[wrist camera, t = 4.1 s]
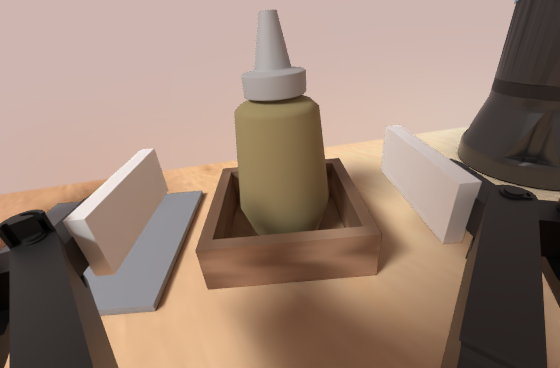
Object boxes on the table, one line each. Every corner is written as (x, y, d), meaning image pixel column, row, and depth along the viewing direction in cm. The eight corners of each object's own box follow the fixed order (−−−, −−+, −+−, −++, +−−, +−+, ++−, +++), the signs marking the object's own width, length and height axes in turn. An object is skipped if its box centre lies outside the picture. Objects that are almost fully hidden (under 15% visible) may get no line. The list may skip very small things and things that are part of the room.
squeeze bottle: (252, 206, 30) (222, 19, 21) (325, 203, 29) (325, 8, 20) (238, 259, 23) (184, 13, 14) (333, 258, 22) (338, -3, 13)
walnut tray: (338, 188, 32) (339, 158, 30) (376, 274, 20) (381, 234, 18) (229, 198, 32) (223, 168, 30) (207, 289, 21) (195, 250, 19)
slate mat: (203, 194, 33) (202, 190, 33) (155, 310, 19) (152, 305, 19) (60, 207, 33) (57, 203, 33) (-90, 331, 19) (-96, 326, 19)
